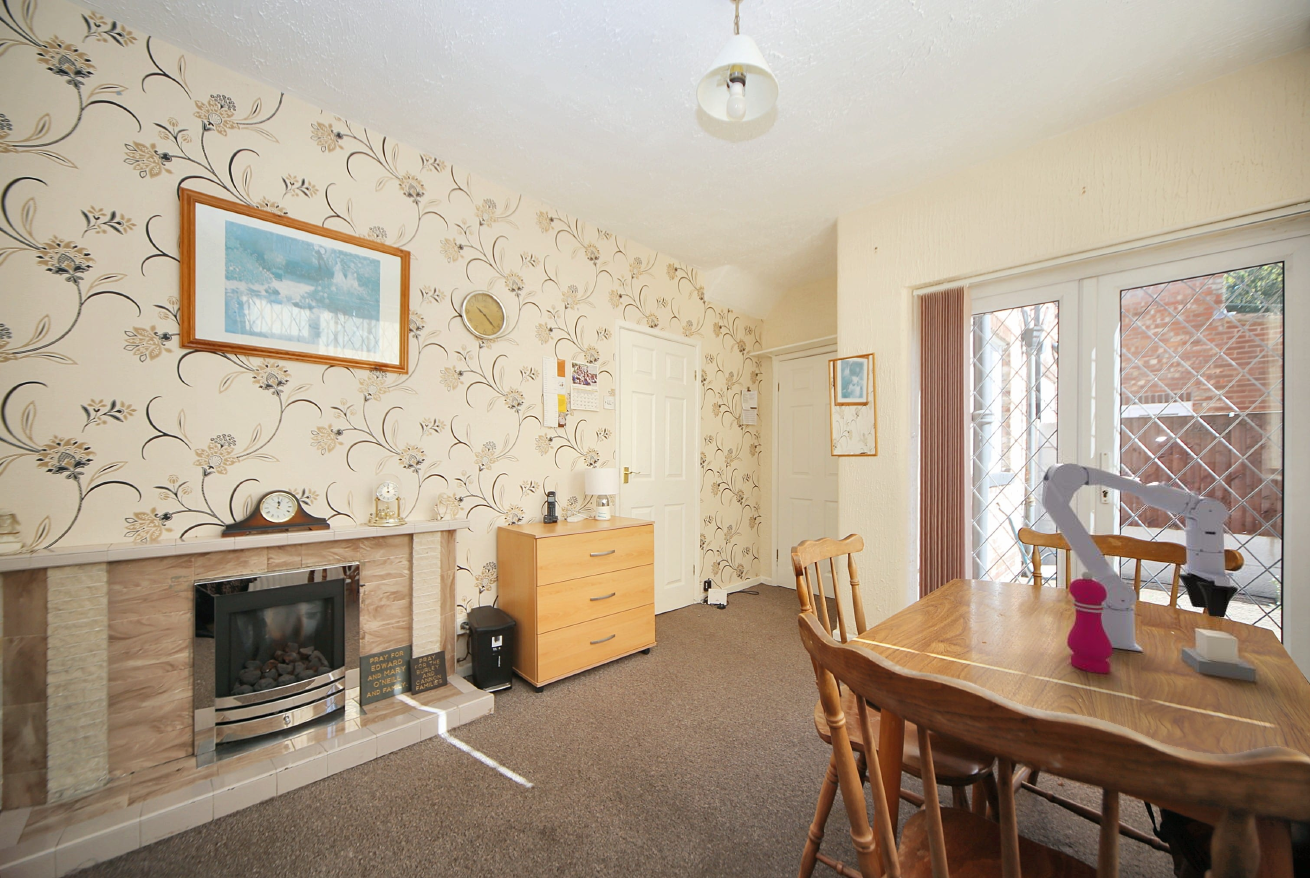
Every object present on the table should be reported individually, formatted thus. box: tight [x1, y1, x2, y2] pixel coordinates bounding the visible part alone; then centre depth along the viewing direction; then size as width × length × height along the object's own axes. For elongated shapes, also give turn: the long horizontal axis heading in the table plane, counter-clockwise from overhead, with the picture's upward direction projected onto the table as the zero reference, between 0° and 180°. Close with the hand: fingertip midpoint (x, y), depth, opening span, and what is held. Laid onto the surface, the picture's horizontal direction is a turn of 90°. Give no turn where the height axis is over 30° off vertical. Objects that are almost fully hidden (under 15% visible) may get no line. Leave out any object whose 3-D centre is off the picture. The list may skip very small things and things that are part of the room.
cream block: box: [1194, 628, 1239, 664], centre depth 103 cm, size 4×4×5 cm
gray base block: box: [1180, 647, 1257, 683], centre depth 103 cm, size 8×8×3 cm
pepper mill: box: [1066, 571, 1114, 674], centre depth 104 cm, size 7×7×20 cm
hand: (1207, 611), depth 110 cm, fingers open, 7 cm apart
